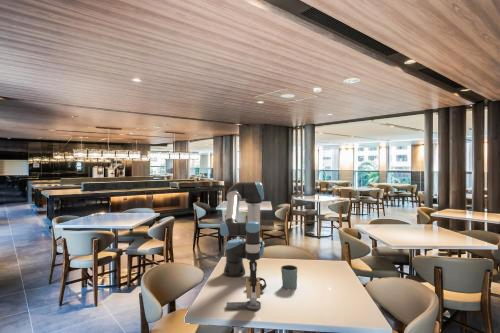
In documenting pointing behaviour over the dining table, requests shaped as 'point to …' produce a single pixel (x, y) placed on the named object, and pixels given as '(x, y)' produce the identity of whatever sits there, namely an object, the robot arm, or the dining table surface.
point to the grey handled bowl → (245, 305)
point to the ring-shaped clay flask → (261, 284)
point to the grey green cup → (289, 276)
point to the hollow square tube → (248, 287)
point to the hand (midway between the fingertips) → (253, 294)
